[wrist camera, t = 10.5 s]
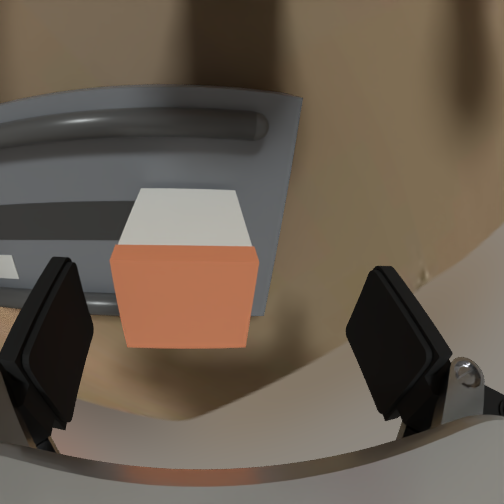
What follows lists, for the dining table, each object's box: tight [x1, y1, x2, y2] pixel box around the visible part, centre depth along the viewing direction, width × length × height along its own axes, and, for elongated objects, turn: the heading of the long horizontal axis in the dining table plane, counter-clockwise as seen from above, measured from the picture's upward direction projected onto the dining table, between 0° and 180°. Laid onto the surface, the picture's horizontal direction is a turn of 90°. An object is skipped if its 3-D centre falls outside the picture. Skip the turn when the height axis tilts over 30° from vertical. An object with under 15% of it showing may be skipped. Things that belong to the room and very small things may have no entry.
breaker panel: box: [0, 84, 303, 316], centre depth 13 cm, size 20×12×4 cm, turn 83°
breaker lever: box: [110, 188, 259, 349], centre depth 11 cm, size 4×4×5 cm
